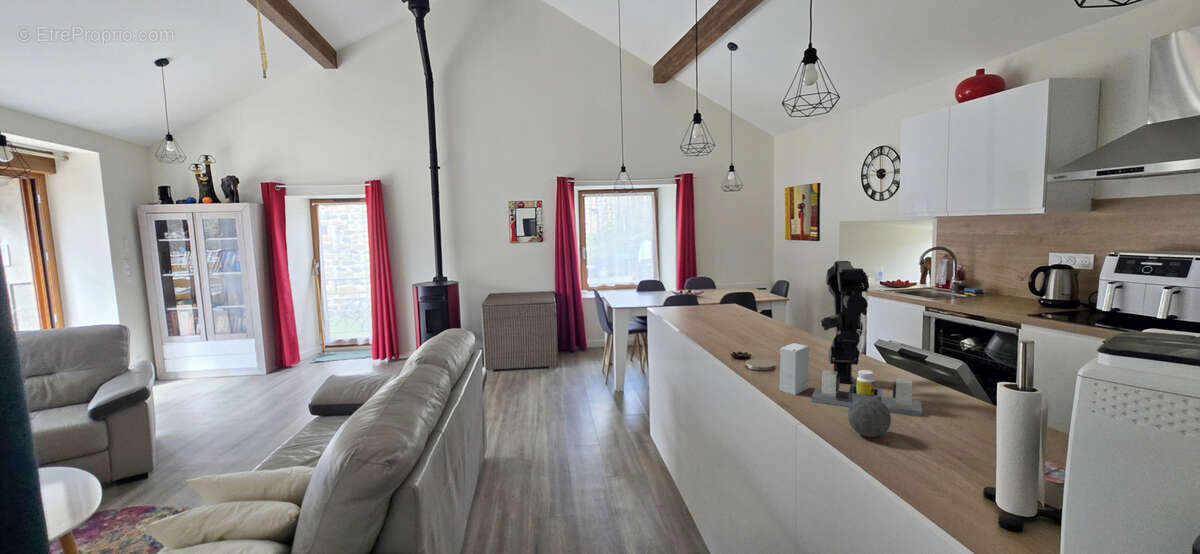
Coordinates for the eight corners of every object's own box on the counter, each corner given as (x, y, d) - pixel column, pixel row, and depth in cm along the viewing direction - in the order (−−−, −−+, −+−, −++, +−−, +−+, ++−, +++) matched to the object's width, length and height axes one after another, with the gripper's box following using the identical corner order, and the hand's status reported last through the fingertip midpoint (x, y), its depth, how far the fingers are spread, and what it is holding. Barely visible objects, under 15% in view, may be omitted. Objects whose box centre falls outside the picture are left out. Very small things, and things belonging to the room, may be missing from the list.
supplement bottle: (874, 402, 155) (875, 374, 154) (856, 400, 157) (857, 373, 156) (873, 397, 160) (874, 370, 159) (856, 395, 162) (856, 368, 161)
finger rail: (815, 392, 170) (815, 366, 168) (920, 406, 155) (921, 378, 154) (811, 401, 162) (811, 374, 161) (921, 416, 148) (923, 387, 146)
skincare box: (792, 385, 177) (793, 342, 175) (809, 389, 173) (810, 345, 171) (778, 391, 172) (779, 347, 170) (795, 395, 167) (796, 350, 166)
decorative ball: (878, 447, 130) (879, 408, 129) (839, 434, 138) (840, 397, 137) (897, 436, 136) (899, 399, 135) (859, 424, 144) (860, 389, 143)
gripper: (826, 302, 177) (825, 347, 178) (819, 311, 160) (818, 361, 162) (863, 303, 171) (862, 350, 173) (859, 314, 155) (858, 365, 157)
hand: (849, 356), depth 166 cm, fingers open, 9 cm apart
